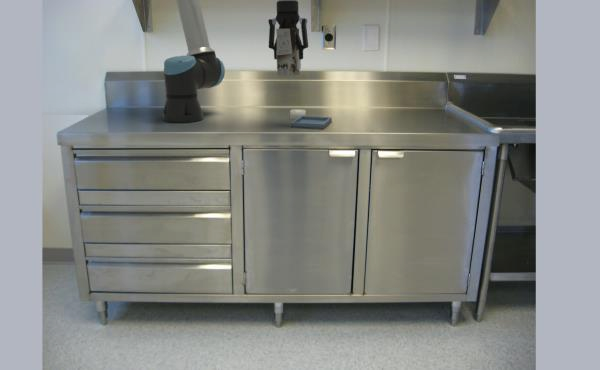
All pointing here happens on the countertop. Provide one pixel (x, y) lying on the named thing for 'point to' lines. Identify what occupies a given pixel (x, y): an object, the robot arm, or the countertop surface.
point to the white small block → (297, 113)
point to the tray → (311, 122)
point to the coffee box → (287, 52)
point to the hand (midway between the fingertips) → (288, 68)
